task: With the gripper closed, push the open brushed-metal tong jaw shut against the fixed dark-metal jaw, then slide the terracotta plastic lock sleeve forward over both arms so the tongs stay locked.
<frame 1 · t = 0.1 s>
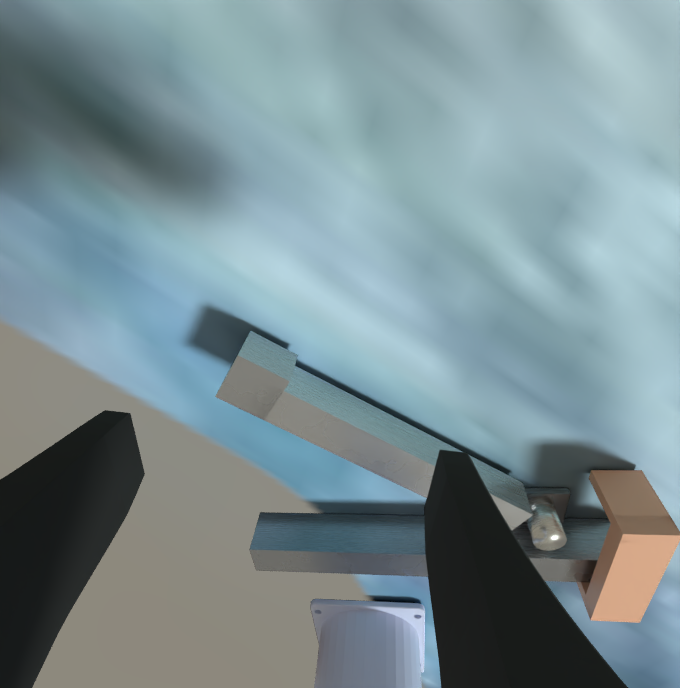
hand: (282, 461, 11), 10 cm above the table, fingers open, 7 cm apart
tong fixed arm: (433, 526, 27), on the table
lock sleeve: (615, 546, 23), point 2 cm above the table, slide at 0.0 cm
tong jaw: (385, 439, 21), point 2 cm above the table, hinge at -35.0°
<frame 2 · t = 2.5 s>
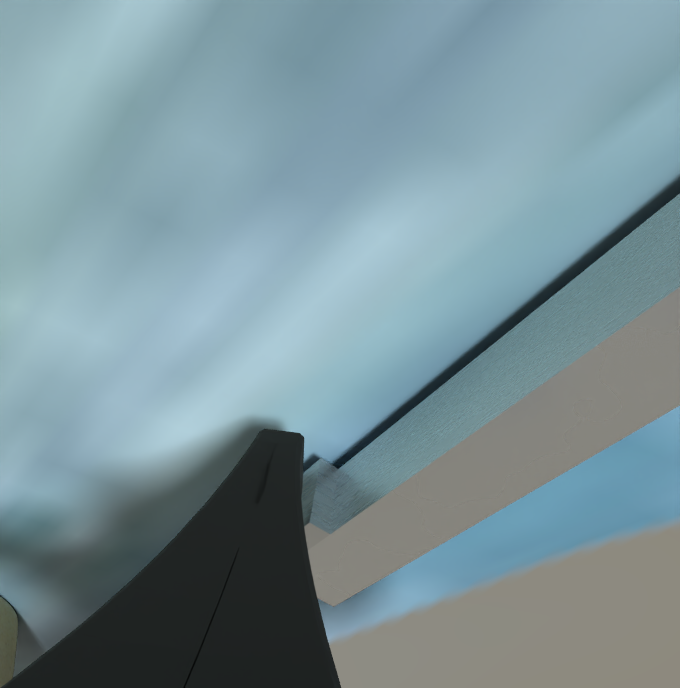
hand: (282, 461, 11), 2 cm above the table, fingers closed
tong jaw: (536, 383, 9), point 1 cm above the table, hinge at -34.7°, touching gripper
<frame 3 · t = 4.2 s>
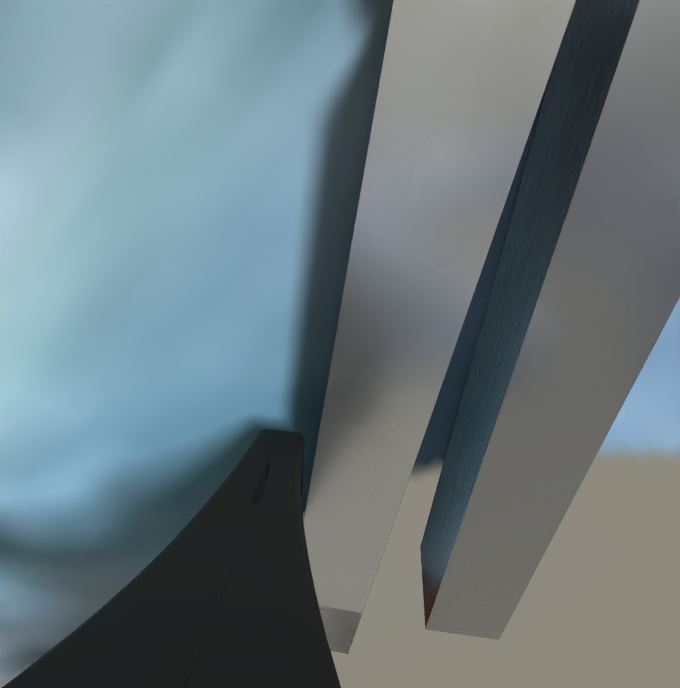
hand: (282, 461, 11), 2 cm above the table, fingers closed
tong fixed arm: (560, 231, 9), on the table
tong jaw: (351, 430, 10), point 1 cm above the table, hinge at -4.7°, touching gripper
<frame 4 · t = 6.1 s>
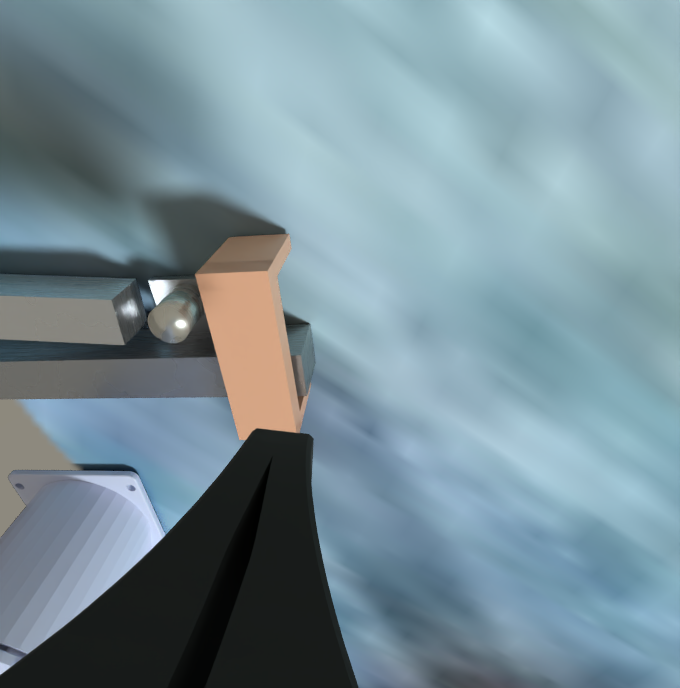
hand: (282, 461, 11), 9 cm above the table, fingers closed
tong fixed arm: (95, 348, 21), on the table
lock sleeve: (263, 339, 18), point 2 cm above the table, slide at 0.0 cm
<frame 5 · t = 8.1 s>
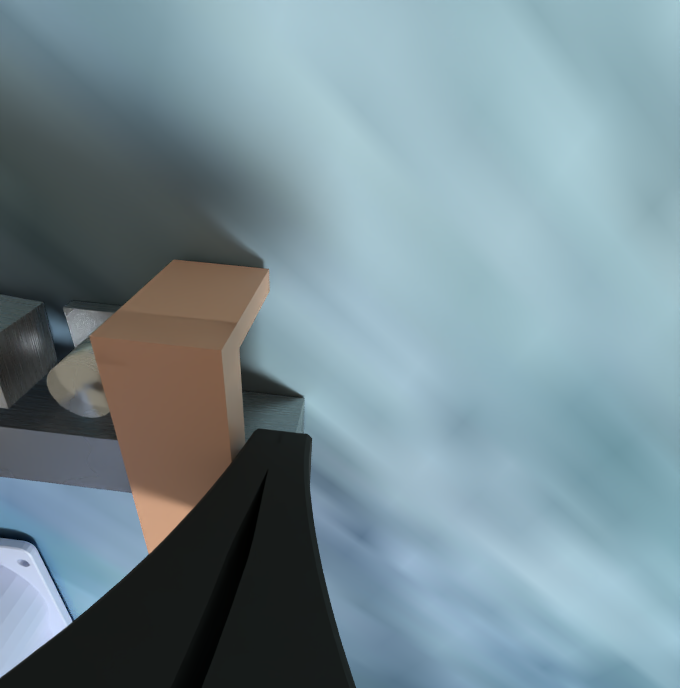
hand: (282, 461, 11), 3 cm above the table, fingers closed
lock sleeve: (208, 424, 11), point 2 cm above the table, slide at 0.7 cm, touching gripper
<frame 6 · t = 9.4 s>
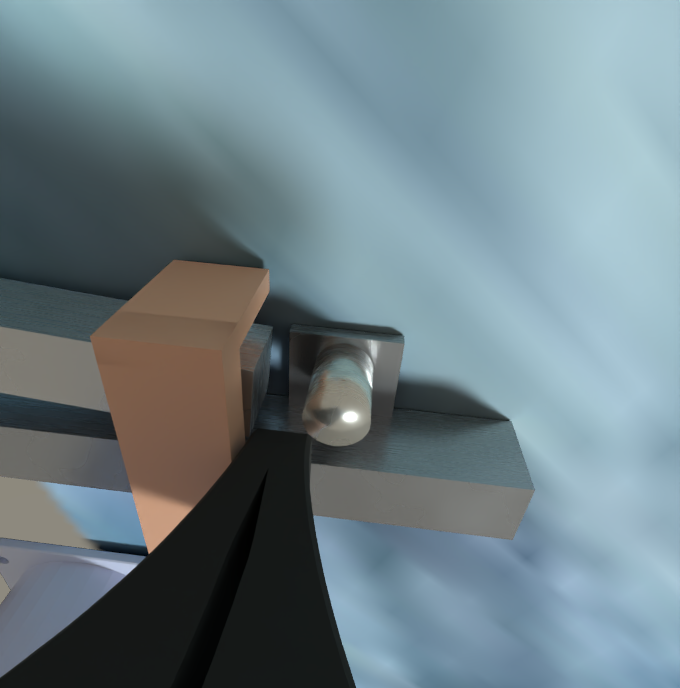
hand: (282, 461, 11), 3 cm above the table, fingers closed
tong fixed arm: (165, 407, 14), on the table
lock sleeve: (208, 423, 11), point 2 cm above the table, slide at 6.8 cm, touching gripper
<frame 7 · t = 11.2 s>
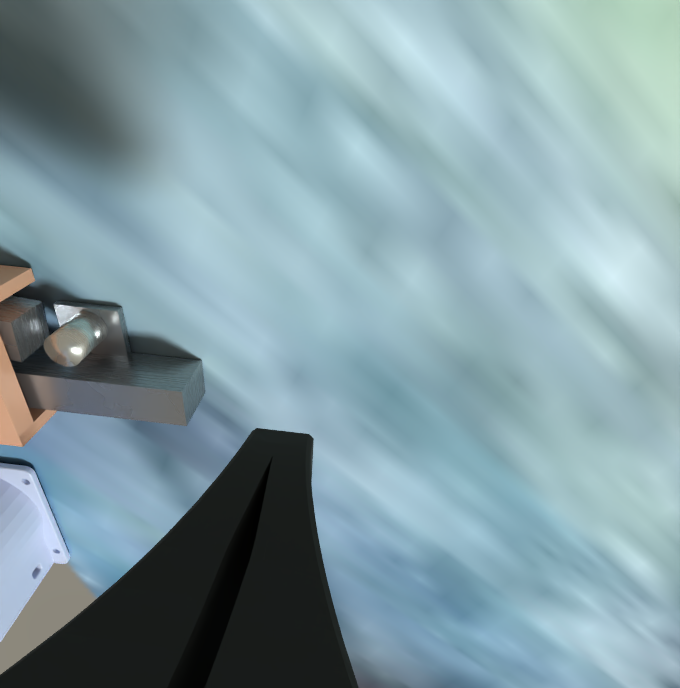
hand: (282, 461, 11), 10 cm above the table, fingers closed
lock sleeve: (1, 356, 20), point 2 cm above the table, slide at 6.9 cm
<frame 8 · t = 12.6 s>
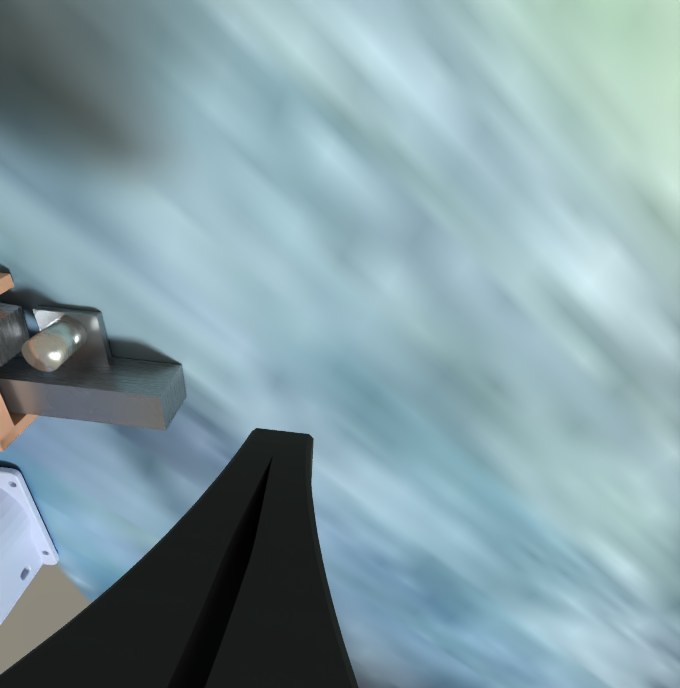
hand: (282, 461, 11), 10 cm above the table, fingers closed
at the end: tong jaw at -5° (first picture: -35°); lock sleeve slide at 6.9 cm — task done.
